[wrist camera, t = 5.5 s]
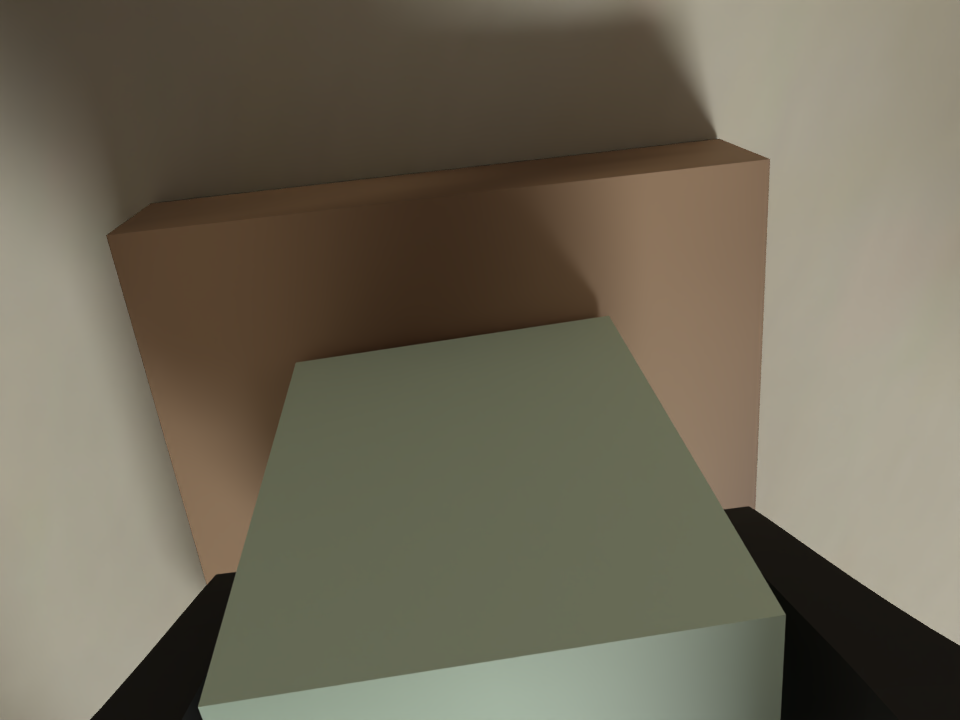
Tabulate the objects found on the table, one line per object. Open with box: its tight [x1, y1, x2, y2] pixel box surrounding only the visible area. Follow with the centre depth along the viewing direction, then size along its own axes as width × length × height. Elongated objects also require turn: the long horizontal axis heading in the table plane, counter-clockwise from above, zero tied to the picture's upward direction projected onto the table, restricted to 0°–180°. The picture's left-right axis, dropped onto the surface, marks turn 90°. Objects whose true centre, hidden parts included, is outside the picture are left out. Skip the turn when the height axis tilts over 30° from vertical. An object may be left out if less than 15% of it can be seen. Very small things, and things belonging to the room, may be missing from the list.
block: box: [198, 316, 786, 720], centre depth 10 cm, size 4×4×6 cm
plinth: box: [106, 139, 770, 584], centre depth 14 cm, size 9×9×2 cm
